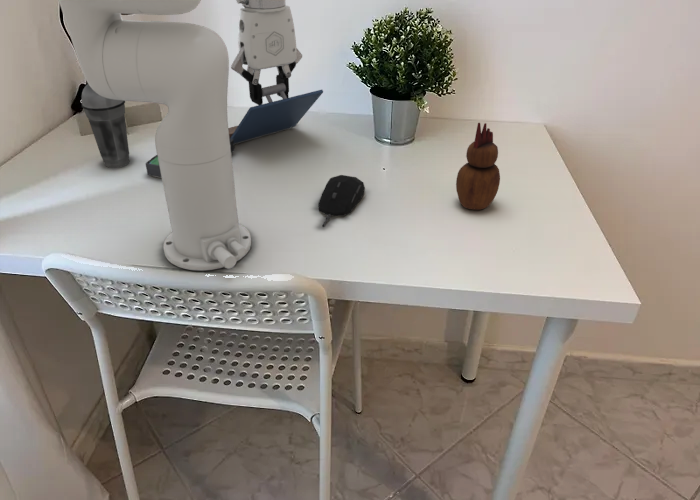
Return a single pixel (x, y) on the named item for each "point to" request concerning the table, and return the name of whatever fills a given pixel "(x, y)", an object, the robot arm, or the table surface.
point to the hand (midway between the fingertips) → (270, 99)
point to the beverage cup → (107, 127)
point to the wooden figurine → (479, 172)
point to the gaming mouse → (340, 196)
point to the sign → (274, 114)
